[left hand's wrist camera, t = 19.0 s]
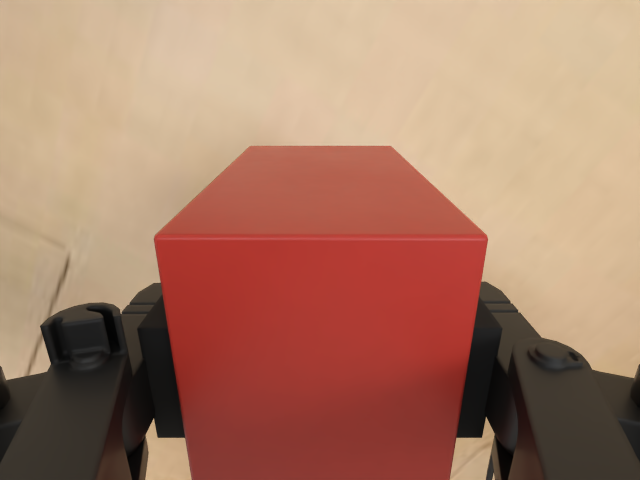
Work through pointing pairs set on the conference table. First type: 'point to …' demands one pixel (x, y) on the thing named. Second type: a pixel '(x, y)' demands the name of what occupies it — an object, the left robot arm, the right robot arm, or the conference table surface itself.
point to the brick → (320, 317)
